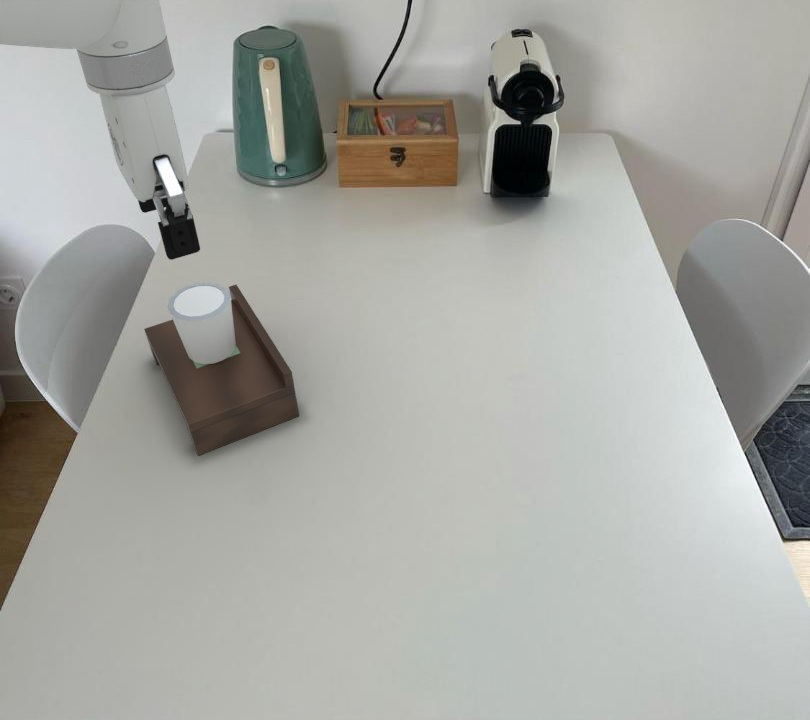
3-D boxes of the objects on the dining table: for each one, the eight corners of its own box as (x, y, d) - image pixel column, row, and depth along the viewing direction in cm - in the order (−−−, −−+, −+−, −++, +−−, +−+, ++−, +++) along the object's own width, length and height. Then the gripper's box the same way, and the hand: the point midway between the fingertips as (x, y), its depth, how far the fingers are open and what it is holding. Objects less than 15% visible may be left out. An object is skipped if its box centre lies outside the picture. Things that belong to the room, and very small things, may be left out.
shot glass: (253, 339, 95) (243, 292, 90) (214, 375, 90) (201, 327, 86) (208, 321, 97) (196, 274, 92) (168, 355, 93) (153, 308, 88)
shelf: (198, 456, 88) (184, 411, 84) (154, 359, 100) (139, 315, 95) (299, 416, 92) (291, 371, 88) (245, 327, 104) (236, 284, 99)
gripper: (63, 38, 74) (112, 201, 86) (106, 109, 63) (156, 286, 74) (144, 23, 77) (181, 183, 88) (199, 88, 66) (234, 262, 77)
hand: (169, 230), depth 81 cm, fingers open, 9 cm apart
